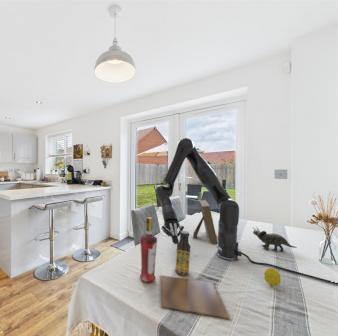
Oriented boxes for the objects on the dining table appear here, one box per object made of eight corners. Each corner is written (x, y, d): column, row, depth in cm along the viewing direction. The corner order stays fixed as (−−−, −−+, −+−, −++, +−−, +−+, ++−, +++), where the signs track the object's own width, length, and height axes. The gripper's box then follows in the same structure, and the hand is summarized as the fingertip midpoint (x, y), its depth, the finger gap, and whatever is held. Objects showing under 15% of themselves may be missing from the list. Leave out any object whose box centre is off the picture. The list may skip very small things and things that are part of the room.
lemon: (275, 291, 81) (276, 272, 81) (261, 283, 86) (261, 266, 86) (283, 288, 83) (283, 269, 83) (268, 281, 89) (269, 263, 88)
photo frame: (212, 233, 149) (213, 200, 148) (217, 244, 128) (219, 206, 128) (191, 230, 154) (192, 199, 153) (193, 240, 133) (194, 204, 132)
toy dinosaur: (296, 253, 118) (297, 234, 117) (296, 257, 111) (297, 238, 111) (252, 242, 133) (253, 226, 132) (250, 246, 126) (251, 228, 126)
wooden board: (212, 284, 85) (212, 282, 85) (229, 319, 66) (229, 317, 66) (161, 276, 90) (161, 275, 90) (162, 307, 71) (162, 306, 71)
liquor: (144, 273, 93) (146, 214, 92) (158, 279, 88) (160, 217, 87) (136, 280, 87) (137, 218, 86) (150, 286, 83) (152, 221, 82)
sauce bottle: (174, 274, 92) (176, 233, 92) (175, 267, 98) (176, 228, 97) (189, 277, 90) (191, 235, 89) (189, 270, 96) (190, 230, 95)
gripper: (159, 210, 111) (165, 240, 99) (182, 211, 112) (190, 240, 100) (156, 217, 117) (162, 246, 105) (178, 217, 117) (186, 246, 105)
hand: (176, 243), depth 102 cm, fingers closed
